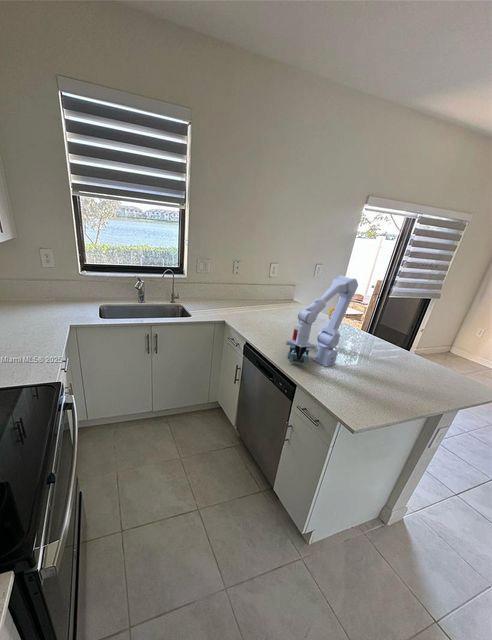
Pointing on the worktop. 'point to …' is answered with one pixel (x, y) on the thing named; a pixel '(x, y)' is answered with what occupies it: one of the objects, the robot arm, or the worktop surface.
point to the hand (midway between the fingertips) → (298, 360)
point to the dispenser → (300, 349)
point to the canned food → (295, 333)
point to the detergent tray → (301, 361)
